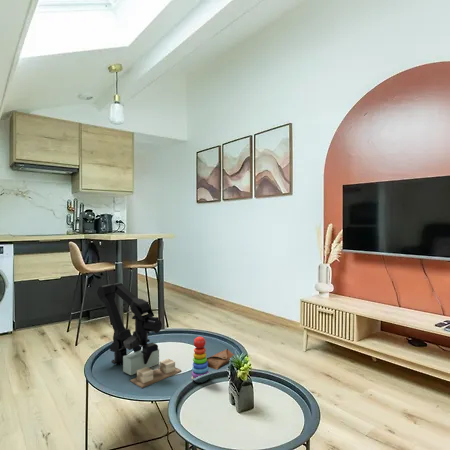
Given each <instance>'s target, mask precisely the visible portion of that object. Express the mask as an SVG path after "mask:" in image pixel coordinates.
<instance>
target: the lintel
mask: <svg viewBox="0 0 450 450" xmlns="http://www.w3.org/2000/svg"><path fill="white" fill-rule="evenodd" d="M141 351H143V350H142V349H141V350H139V351H137V352H134V351H133V352H132V353H128V354H127V355H126V356H123V364H122V372H123V373H125V374H127V375H130V376H133V375H136V374H137V370H140V369H142V368H145V367H148V368H150V369H151V368H152V367H154V366H157V365H158V364H159V365H160V349H159V348H158V350H157V351H154V352H152V354H151V355H150V358H149V360H148V362H147V364H144V358H143V353H142V352H141Z"/></svg>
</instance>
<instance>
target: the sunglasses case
mask: <svg viewBox="0 0 450 450" xmlns="http://www.w3.org/2000/svg"><path fill="white" fill-rule="evenodd" d="M233 355H235V354H233V352H232V351H230V350H229V349H228V348H226V349H224V350H222V351H219V352H217V353H215V354H213V355H212V356H208V357H206V358H207V362H208V365H207V366H208V368H210V369H213V370H216V371H218V370H219V369H221V368H222V367H224V366H225V365H228V364H230V362H229V360H230V358H231V357H232V356H233Z"/></svg>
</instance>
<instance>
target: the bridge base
mask: <svg viewBox="0 0 450 450" xmlns="http://www.w3.org/2000/svg"><path fill="white" fill-rule="evenodd" d="M180 372H182V370H181V369H180V368H177V367H176V361H175V360H173V359H171V358H166V359H164V360H161V361H159V368H157V369H151V367H150V368H148V367H145V368H142V369H140V370H137V373H136V377H135V378H132V379H129V380H130V382H131V383H133V384H134V385H136V386H137V387H139V388H140V389H143V388H146V387H149V386H151V385H153V384H155V383H157V382H160V381H163V380H164V379H167V378H170V377H171V376H174V375H176V374H178V373H180Z"/></svg>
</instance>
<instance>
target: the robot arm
mask: <svg viewBox="0 0 450 450" xmlns="http://www.w3.org/2000/svg"><path fill="white" fill-rule="evenodd" d="M96 293H97V296H98V299H99V301H101V302H102V303H103V304H104V305H105V306H104V307H105V308H106V311H107V314H108V318H109V320H110V322H111V326H112V329H113V336H112V340H113V342H112V343H111V344H110V346H109V350H110V352H113V354H114V355H113V356H114V357H113V358H114V359H112V360H111V363H113V364H115V365H117V366H119V365H120V366H121V365H123V356H126V355H128V354H127V350H133V353H134V352H137V351H139V350H143V351H141V352H142V353H143V358H144V364H147V362H148V360H149V358H150V355H151V354H152V352H154V351H157V350H158V349H159V345H158V344H157V343H154V342H151V341H150V339H149V338H148V336H149V335H148V334H150V333H155V334H158V333H159V332H160V331H161V330H162V326H163V323H162V321H161V320H160V319H159V317H158V316H155V314H154V311H153V309H152V308H151V306H150V302H148V301H146V300H145V299H142V298H139V297H137V296H136V295H134V294H133V292H131V291H130V290H129V289H127V288H126V286H124V285H123V282H117V283H113V284H111V283H109V284H106V285H100V286H99V287H98V288H97V290H96ZM116 296H118V297H119V298H121V300H123V301H124V302H125V303H126V304H128V306H129V309H130V311H131V313H132V314H133V316H132V317H131V319H132V320H134V323H135V324H134V331H133V332H131V329H130V328H126V327H125V326H124V322H123V320H122V317H121V314H120V311H119V308H118V305H117V302H116Z"/></svg>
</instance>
